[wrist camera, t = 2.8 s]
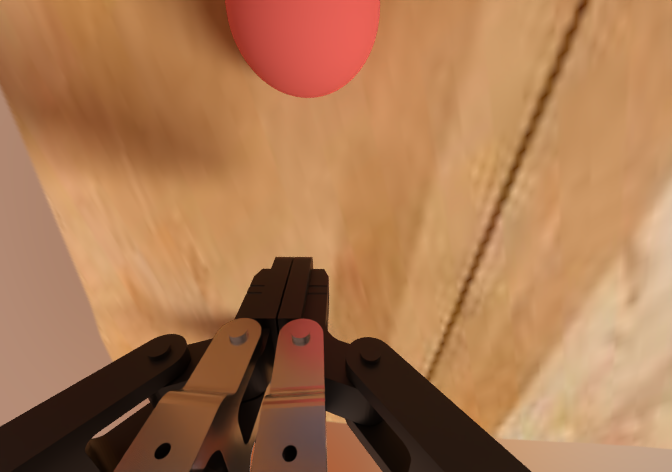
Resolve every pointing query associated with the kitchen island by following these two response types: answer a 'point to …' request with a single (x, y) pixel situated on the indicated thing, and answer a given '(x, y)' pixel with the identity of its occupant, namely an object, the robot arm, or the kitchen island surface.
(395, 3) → the kitchen island surface
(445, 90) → the kitchen island surface
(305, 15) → the ball
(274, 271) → the robot arm
